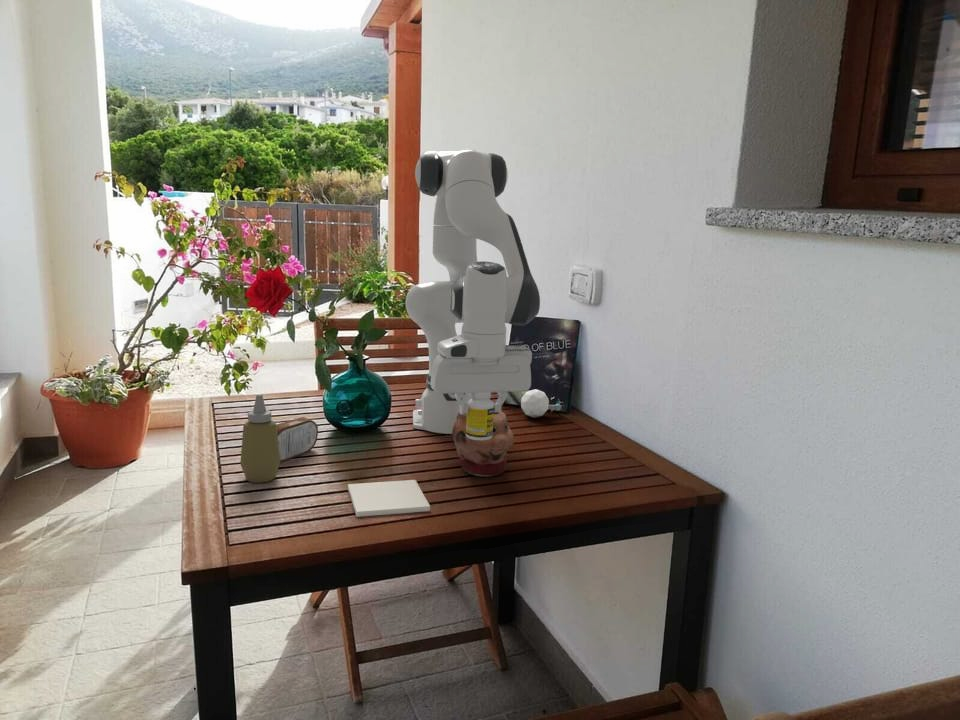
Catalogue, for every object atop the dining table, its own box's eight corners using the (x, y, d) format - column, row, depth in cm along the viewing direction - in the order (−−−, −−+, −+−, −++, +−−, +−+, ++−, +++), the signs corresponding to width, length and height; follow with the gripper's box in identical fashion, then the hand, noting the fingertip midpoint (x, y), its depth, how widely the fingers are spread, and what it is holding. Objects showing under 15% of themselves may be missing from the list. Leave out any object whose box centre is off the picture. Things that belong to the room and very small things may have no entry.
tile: (347, 488, 147) (347, 484, 146) (415, 484, 151) (415, 479, 150) (356, 516, 133) (356, 511, 133) (429, 511, 138) (430, 506, 137)
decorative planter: (431, 459, 166) (433, 401, 163) (473, 451, 173) (476, 395, 170) (483, 487, 150) (486, 424, 148) (527, 477, 158) (531, 416, 155)
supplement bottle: (490, 442, 142) (491, 394, 140) (463, 439, 143) (464, 392, 141) (494, 434, 147) (496, 388, 145) (469, 431, 148) (470, 385, 146)
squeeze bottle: (242, 487, 145) (240, 401, 141) (238, 473, 152) (236, 391, 148) (283, 483, 148) (282, 398, 144) (277, 469, 155) (276, 389, 152)
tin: (310, 446, 171) (310, 412, 170) (320, 449, 170) (320, 415, 168) (262, 464, 159) (262, 427, 157) (273, 467, 157) (272, 430, 155)
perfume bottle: (515, 399, 210) (553, 403, 213) (518, 421, 204) (558, 425, 207) (523, 382, 204) (563, 386, 207) (527, 404, 199) (567, 409, 202)
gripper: (526, 342, 147) (523, 407, 150) (429, 343, 141) (427, 410, 144) (538, 348, 141) (534, 415, 144) (437, 349, 135) (435, 419, 138)
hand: (480, 413), depth 144 cm, fingers closed on supplement bottle, 5 cm apart
